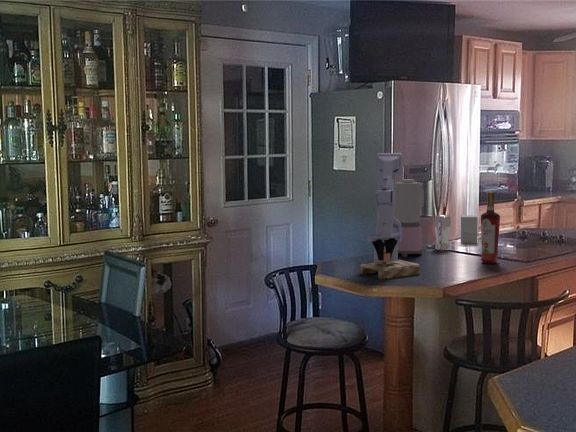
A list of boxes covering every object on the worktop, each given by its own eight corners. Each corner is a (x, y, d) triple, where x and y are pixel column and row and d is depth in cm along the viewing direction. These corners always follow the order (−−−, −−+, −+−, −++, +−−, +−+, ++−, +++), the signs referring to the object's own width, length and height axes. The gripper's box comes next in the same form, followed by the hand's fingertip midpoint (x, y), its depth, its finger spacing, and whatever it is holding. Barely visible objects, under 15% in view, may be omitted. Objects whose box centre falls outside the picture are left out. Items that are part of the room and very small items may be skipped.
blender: (407, 257, 293) (407, 180, 290) (387, 254, 303) (387, 179, 300) (433, 253, 302) (434, 179, 298) (413, 250, 312) (414, 177, 308)
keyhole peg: (376, 273, 260) (376, 252, 259) (385, 271, 262) (385, 251, 261) (382, 275, 256) (383, 254, 255) (391, 274, 258) (392, 253, 257)
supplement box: (476, 241, 335) (476, 215, 334) (477, 243, 328) (477, 216, 326) (460, 241, 337) (460, 214, 335) (461, 243, 329) (461, 216, 328)
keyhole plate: (380, 279, 251) (380, 269, 250) (360, 273, 261) (360, 264, 261) (419, 274, 259) (419, 264, 259) (399, 268, 270) (399, 259, 269)
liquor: (476, 263, 279) (477, 192, 276) (485, 260, 284) (486, 191, 281) (493, 265, 274) (495, 193, 271) (502, 262, 279) (503, 192, 276)
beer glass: (452, 250, 310) (452, 216, 308) (436, 250, 310) (436, 216, 309) (448, 248, 317) (449, 214, 315) (433, 248, 317) (433, 215, 315)
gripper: (375, 225, 250) (375, 263, 251) (407, 222, 257) (407, 259, 258) (363, 223, 256) (363, 260, 257) (395, 220, 263) (395, 256, 264)
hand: (384, 259), depth 258 cm, fingers closed on keyhole peg, 3 cm apart
